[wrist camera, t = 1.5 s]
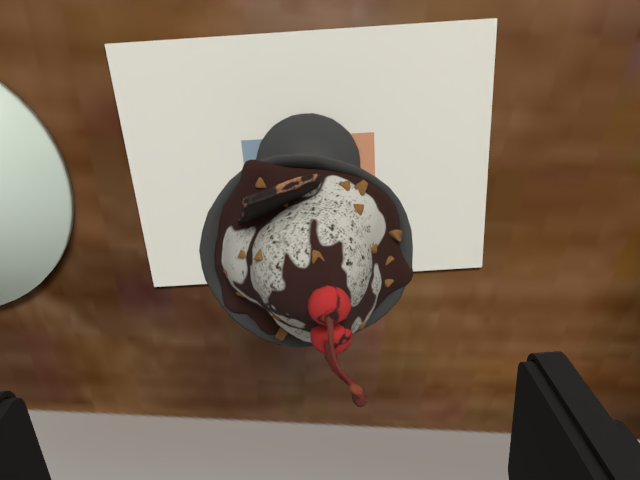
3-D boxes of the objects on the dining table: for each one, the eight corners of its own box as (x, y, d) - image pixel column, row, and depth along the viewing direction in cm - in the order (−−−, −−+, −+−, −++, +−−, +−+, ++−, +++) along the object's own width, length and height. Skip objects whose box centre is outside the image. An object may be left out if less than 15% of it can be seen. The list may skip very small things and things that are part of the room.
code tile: (495, 18, 25) (497, 18, 24) (480, 265, 29) (481, 267, 29) (105, 43, 25) (104, 44, 25) (155, 285, 30) (154, 287, 29)
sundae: (355, 244, 29) (395, 480, 15) (225, 209, 28) (140, 426, 14) (399, 118, 26) (497, 263, 12) (257, 76, 25) (192, 181, 11)
